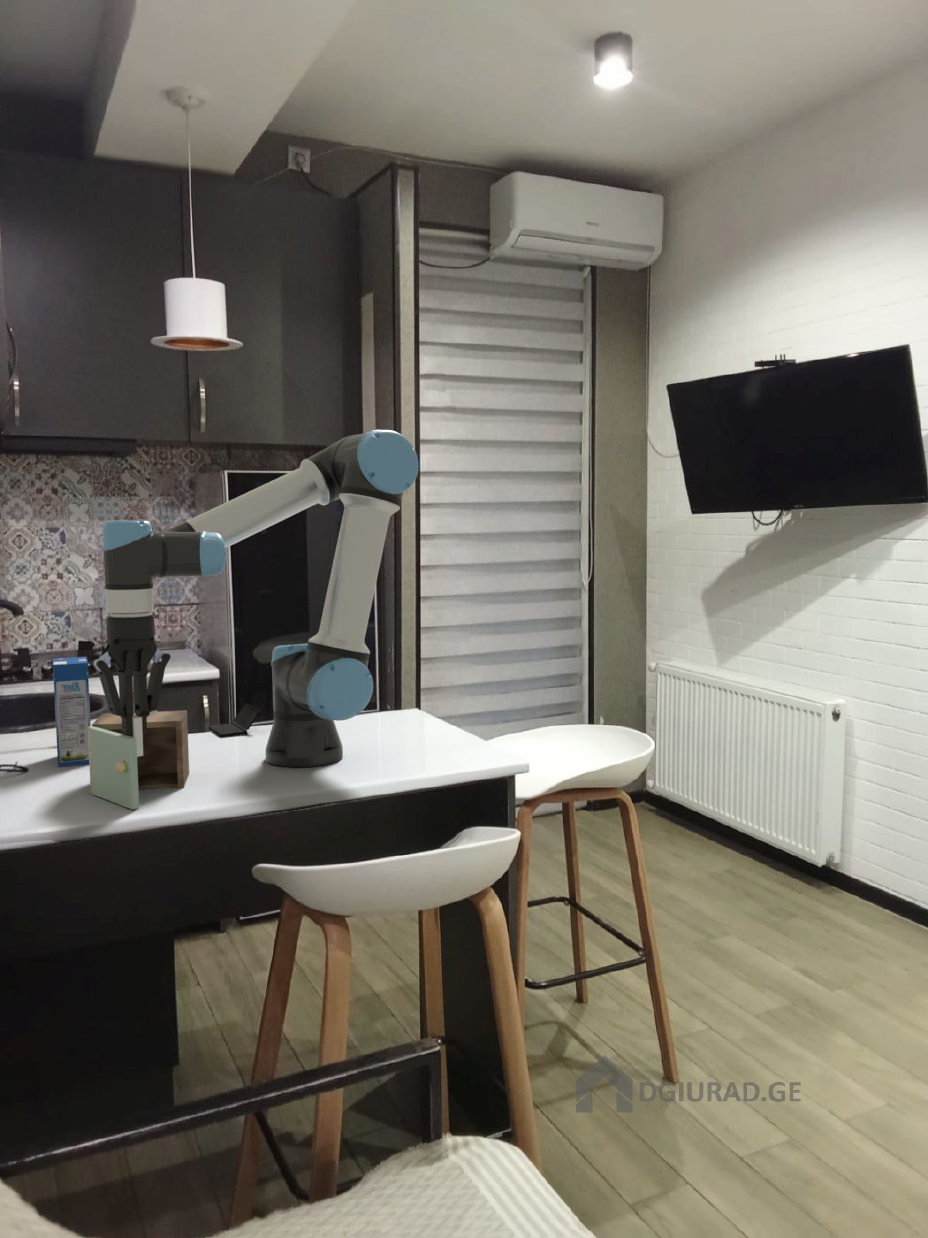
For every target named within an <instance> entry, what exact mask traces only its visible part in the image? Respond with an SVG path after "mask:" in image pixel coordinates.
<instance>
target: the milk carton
mask: <svg viewBox="0 0 928 1238" xmlns="http://www.w3.org/2000/svg"><path fill="white" fill-rule="evenodd" d="M88 663H89V662H88V658H87V656H76V657H59V658H58V657H57V658H53V659H52V671H53V677H52V678H53V692H54V693H53V695H54V712H55V734H56V750H57V751H56V753H57V767H58V768H62V767H63V768H65V767H72V766H83V765H84V766H85V765H89V744H88V727H89V726H92V724H91V708H90V707H91V706H90V705H91V703H90V686H89V684H90V683H89V664H88Z"/></svg>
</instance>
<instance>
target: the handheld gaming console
mask: <svg viewBox="0 0 928 1238" xmlns="http://www.w3.org/2000/svg"><path fill="white" fill-rule="evenodd" d="M260 713H261V709H259V708H257V707H255V706H253V705H252V704H249V703H248V702H245V703H244V704H243V706H242V707H241V709H240V710H239V712H238V713H237V714H236V716H235V717H234V719H233V721H231V722H230V723H223V724H222V723H220V724H214V725H208V726H207V727H208V728H207V729H208V730H209V731H210V732H212V733H213V734H215V736H217V737H220V738H231V737H239V736H248V731H249V730H250V728H251V727H252V725H253V723H254V722H255V721H256V718H257V717H258V716H259V715H260Z"/></svg>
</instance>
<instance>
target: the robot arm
mask: <svg viewBox="0 0 928 1238" xmlns="http://www.w3.org/2000/svg"><path fill="white" fill-rule="evenodd" d="M418 474H419V460H418V453H417V451H416V450H415V448H414V447H413V445H412V443H411V442H410V440H409V439H407V438H406V436H404V435H403V434H401V433H399V432H397V431H395V430H389V429H374V430H370V431H368V432H365V433H360V434H352V435H348V436H345V437H343V438H341V439H340V440H338V441H336V442H333V444H331V445H329V446H327V447H326V448H323V450H320V451H318V452H317V453H315V454H313V455H311V456H309V457H307V458H305V459H303V460H302V461H301V462H300V465H299V468H298V467H297V468H296V469H294V470H293V471H290V472H288V473H286V474H284V475H281V476H279V477H278V478H275V479H273V480H271V481H269V482H267V483H264V484H263V485H260V486H257V487H256V488H254V489H252V490H249V491H248V492H246V493H244V494H241V495H239V496H237V497H235V498H233V499H230V500H229V501H227V502H224V503H222V504H219V505H218V506H216V507H214V508H211V509H209V510H207V511H205V512H203V513H201V514H198V515H196V516H195V517H192V518H190V519H188V520H186V521H185V522H183V523H180V524H178V525H175V526H174V527H171V528H170V529H167V530H160V531H158V532H156V531H153V529H152V525H151V522H150V521H148V520H109V521H107V522H106V523H105V524H104V526H103V533H102V534H103V537H102V538H103V539H102V540H103V541H102V542H103V543H102V552H103V553H102V554H103V569H104V570H103V571H104V587H105V588H104V595H105V599H104V600H105V612H106V613H107V614H109V616H107V617H106V618H105V624H106V625H105V626H106V639H107V644H106V647H105V650H104V654H103V655H101V656H100V657H98V659H97V658H94V659H92V661H91V665H92V667H93V668H94V670H95V671H96V672H97V673H98V676H99V680H100V684H101V687H102V690H103V695H104V697H105V700H106V703H107V707H108V710H109V714H110V713H111V714H114V715H117V716H120V717H121V718H122V734H123V735H126V736H130V737H133V738H136V744H137V757H139V756H143V735H144V734H146V733H147V717H148V716H149V715H150V712H151V711H155V710H157V711H158V708H159V707H158V706H159V702H160V696H161V690H162V686H163V681H164V675H165V671H166V667H167V665H168V663H169V661H170V660H171V654H170V653H166V652H163V651H161V650H160V649H159V648H158V645H157V643H156V641H155V635H156V629H155V626H156V625H155V624H156V623H155V617H154V616H153V614H151V613H152V612H154V611H155V602H154V600H155V599H154V596H155V595H154V578H170V577H171V578H173V577H174V578H178V577H179V578H180V577H181V578H184V577H187V578H188V577H202V578H206V577H210V576H219V575H221V574H222V572H223V571H224V570H225V566H226V562H227V549H226V548H229V547H230V546H231V547H232V545H236V544H237V543H239V542H241V541H243V540H245V539H247V538H249V537H251V536H253V535H255V534H257V533H259V532H262V531H263V530H265V529H267V528H269V527H272V526H274V525H276V524H278V523H280V522H282V521H284V520H286V519H288V518H290V517H292V516H294V515H296V514H298V513H300V512H302V511H305V510H306V509H308V508H311V507H312V506H315V505H317V504H318V505H321V506H326V505H329V504H330V503H333V502H334V501H337V500H340V501H341V502H342V504H343V506H344V508H343V509H344V510H343V514H342V519H341V523H340V529H339V533H338V538H337V541H336V542H337V543H336V547H335V551H334V557H333V563H332V565H331V566H332V567H331V571H330V577H329V580H328V586H327V591H326V595H325V601H324V605H323V609H322V610H323V611H322V616H321V619H320V624H319V630H318V632H317V634H315V635H313V636H312V637H309V639H308V642H307V643H298V644H288V645H287V644H285V645H277V646H275V647H274V648H273V649H272V652H271V653H272V654H271V663H270V666H271V676H272V678H271V679H272V706H273V724H272V726H271V730H270V734H269V736H268V739H267V743H266V747H265V761H266V762H267V763H268V764H271V765H273V766H277V767H287V768H304V767H308V768H309V767H318V766H325V765H328V764H333V763H335V762H338V761H341V759H343V755H344V754H343V753H344V752H343V743H342V739H341V738H340V735H339V731H338V730H337V729H338V728H337V726H336V723H335V721H336V722H337V721H346V720H350V719H352V718H354V717H355V716H357V715H359V714H360V713H361V712H362V711H363V710H364V709H366V707H367V706H368V704H369V702H370V700H371V698H372V695H373V691H374V681H373V676H372V673H371V672H370V669H369V668H368V665H369V659H370V654H371V651H370V649H369V648H368V646H367V645H366V642H365V638H366V634H367V629H368V625H369V619H370V614H371V609H372V605H373V600H374V595H375V590H376V585H377V580H378V575H379V571H380V566H381V563H382V562H381V561H382V558H383V551H384V547H385V544H386V543H385V541H386V537H387V534H388V527H389V523H390V518H391V516H392V515H394V514H395V513H397V512H398V511H399V510H400V509H401V505H402V501H403V495H404V492H405V491H408V489H410V487H411V486H413V485H414V483H415V481H416V479H417V476H418ZM151 661H152V665H151V669H150V678H149V683H148V688H147V675H148V673H149V667H148V666H149V665H150V663H151ZM112 664H113V666H115V668H116V676H118V689H117V686H116V682H115V679H114V678H115V677H114V676H113V672H112V670H111V669H110V668H111V666H112ZM132 677H133V685H132ZM133 689H134V710H133ZM134 712H135V714H136V715H134Z"/></svg>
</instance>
